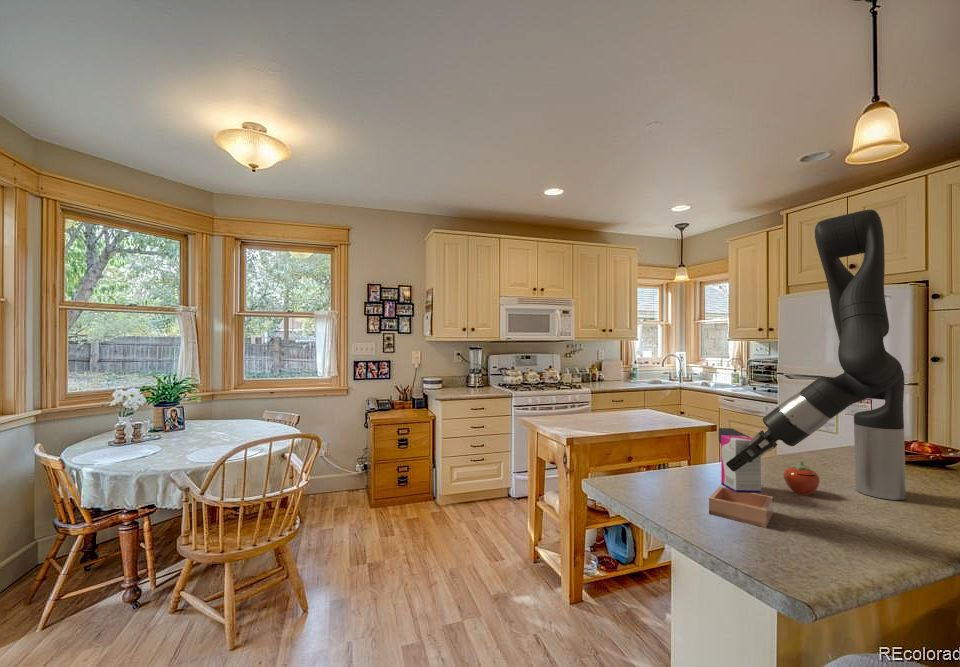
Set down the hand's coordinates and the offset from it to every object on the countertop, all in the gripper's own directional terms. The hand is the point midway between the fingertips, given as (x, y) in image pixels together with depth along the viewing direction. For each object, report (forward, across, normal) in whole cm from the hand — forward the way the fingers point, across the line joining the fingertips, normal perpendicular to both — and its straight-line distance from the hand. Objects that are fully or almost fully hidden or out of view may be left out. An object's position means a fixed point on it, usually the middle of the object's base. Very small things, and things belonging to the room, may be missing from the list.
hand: (733, 463), depth 93 cm
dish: (+7, 0, +8) cm, 11 cm away
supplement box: (+3, 0, +5) cm, 6 cm away
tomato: (0, -26, +15) cm, 30 cm away
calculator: (+10, -17, +6) cm, 20 cm away
